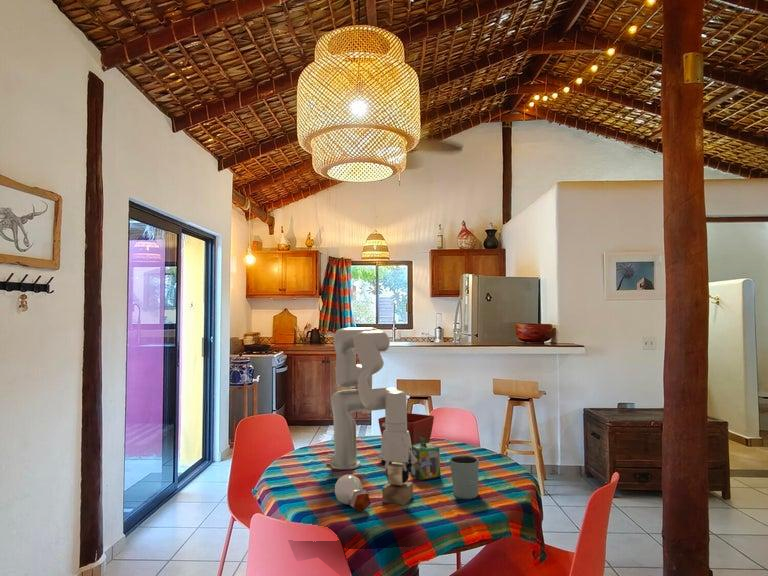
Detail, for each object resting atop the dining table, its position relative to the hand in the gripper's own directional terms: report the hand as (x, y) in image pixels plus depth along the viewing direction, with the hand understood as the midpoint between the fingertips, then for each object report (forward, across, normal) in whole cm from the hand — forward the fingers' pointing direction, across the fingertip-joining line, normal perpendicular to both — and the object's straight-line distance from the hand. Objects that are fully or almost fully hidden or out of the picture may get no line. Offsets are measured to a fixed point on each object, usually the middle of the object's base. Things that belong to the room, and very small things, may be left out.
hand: (397, 480), depth 167 cm
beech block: (+1, 0, 0) cm, 1 cm away
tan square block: (+7, 0, 0) cm, 7 cm away
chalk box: (+7, 0, +27) cm, 28 cm away
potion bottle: (+7, -12, -11) cm, 17 cm away
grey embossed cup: (+7, +20, +13) cm, 25 cm away
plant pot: (+7, -18, +52) cm, 55 cm away
